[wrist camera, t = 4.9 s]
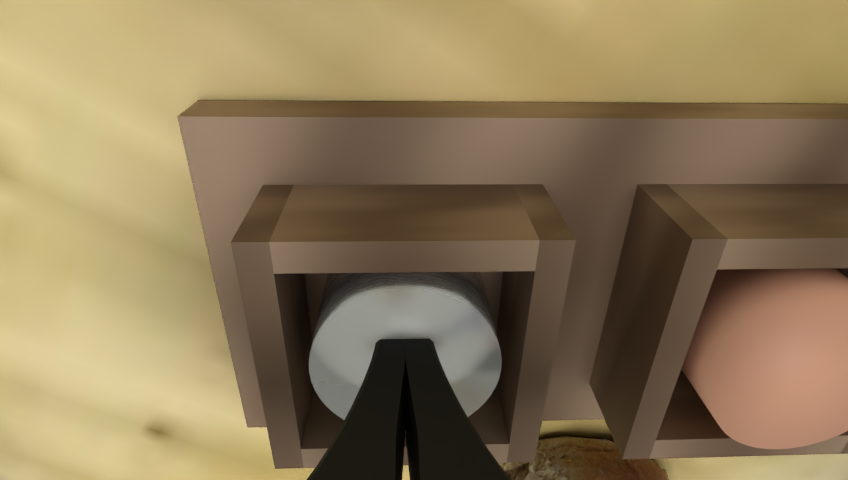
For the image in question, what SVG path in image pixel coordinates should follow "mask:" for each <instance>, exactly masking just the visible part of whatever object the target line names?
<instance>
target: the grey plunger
mask: <svg viewBox="0 0 848 480" xmlns="http://www.w3.org/2000/svg"><path fill="white" fill-rule="evenodd" d="M427 338H430V339H431V340H432V341H433V342H434V345H435V349H436V352H437V355H438V358H439V360H440V363H441V365H442V368H443V370H444V372H445V375H446V377H447V379H448V381H449V383H450V385H451V387H452V389H453V391H454V393H455V395H456V397H457V399H458V401H459V403H460V405H461V406H462V408H463V410H464V412H465V413H466V415H467V417H469V416H470V415H471V414H473V413H474V412H475V411H477V410H478V409H479V408H480V407H481V406H482V405H483V404H484V403H485V402H486V401H487V399H488V398H489V397H490V396H491V394H492V392H493V391H494V389H495V387H496V385H497V383H498V380H499V377H500V373H501V366H502V357H501V350H500V346H499V342H498V338H497V334H496V330H495V326H494V322H493V318H492V314H491V310H490V306H489V302H488V298H487V294H486V290H485V286H484V282H483V279H482V276H481V272H391V273H328V275H327V279H326V282H325V286H324V291H323V295H322V300H321V305H320V309H319V314H318V318H317V323H316V328H315V332H314V337H313V341H312V346H311V351H310V357H309V374H310V378H311V382H312V385H313V387H314V390H315V391H316V393H317V395H318V396H319V398H320V399H321V400H322V402H323V403H324V404H325V405H326V406H327V407H328V408H329V409H330V410H331V411H332V412H333V413H335V414H336V415H337V416H339V417H340V418H342V419H343V420H345V418H346V416H347V414H348V412H349V410H350V408H351V406H352V404H353V402H354V400H355V398H356V396H357V394H358V391H359V389H360V387H361V385H362V383H363V380H364V378H365V375H366V373H367V370H368V368H369V365H370V362H371V359H372V356H373V352H374V348H375V343H376V342H377V341H379V340H380V339H427Z"/></svg>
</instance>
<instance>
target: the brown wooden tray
mask: <svg viewBox="0 0 848 480" xmlns="http://www.w3.org/2000/svg"><path fill="white" fill-rule="evenodd" d="M178 121H179V125H180V130H181V134H182V139H183V143H184V148H185V152H186V156H187V161H188V165H189V170H190V174H191V179H192V183H193V188H194V192H195V196H196V201H197V205H198V210H199V214H200V219H201V223H202V228H203V232H204V236H205V241H206V245H207V250H208V254H209V259H210V263H211V268H212V272H213V276H214V281H215V285H216V290H217V294H218V299H219V303H220V308H221V312H222V317H223V321H224V325H225V330H226V334H227V339H228V343H229V348H230V352H231V357H232V361H233V365H234V370H235V374H236V379H237V383H238V388H239V392H240V397H241V401H242V405H243V410H244V414H245V419H246V423H247V427H267V430H268V435H269V440H270V445H271V450H272V455H273V460H274V465H275V469H280V468H316V466H317V465H318V463H319V462H320V460H321V459H322V457H323V455H324V454H325V452H326V451H327V449H328V448H329V446H330V444H331V443H332V441H333V439H334V438H335V436H336V434H337V433H338V431H339V429H340V427H341V425H342V423H343V421H344V420H343V419H342V418H340V417H339V416H337V415H336V414H335V413H333V412H332V411H331V410H330V409H329V408H328V407H327V406H326V405H325V404H324V403H323V402H322V400H321V399H320V398H319V396H318V395H317V393H316V391H315V390H314V387H313V385H312V382H311V378H310V374H309V357H310V351H311V346H312V341H313V337H314V332H315V328H316V323H317V318H318V314H319V309H320V305H321V300H322V295H323V291H324V286H325V282H326V279H327V275H328V273H391V272H481V276H482V279H483V282H484V286H485V290H486V294H487V298H488V302H489V306H490V310H491V314H492V318H493V322H494V326H495V330H496V334H497V338H498V342H499V346H500V350H501V357H502V366H501V373H500V377H499V380H498V383H497V385H496V387H495V389H494V391H493V392H492V394H491V396H490V397H489V398H488V399H487V401H486V402H485V403H484V404H483V405H482V406H481V407H480V408H479V409H478V410H477V411H475V412H474V413H473V414H471V415H470V416H469V417H468V418H469V420H470V422H471V423H472V425H473V427H474V428H475V430H476V432H477V433H478V435H479V436H480V438H481V439H482V441H483V442H484V444H485V445H486V447H487V448H488V450H489V451H490V452H491V454H492V455H493V457H494V458H495V459H496V461H497V462H498V463H506V462H534V459H535V454H536V449H537V443H538V438H539V433H540V428H541V422H542V421H548V420H591V419H605V421H606V423H607V426H608V428H609V430H610V432H611V435H612V437H613V439H614V442H615V444H616V446H617V449H618V451H619V453H620V455H621V458H622V459H656V458H694V457H732V456H769V455H807V454H845V453H848V431H847V432H844V433H842V434H840V435H838V436H835V437H833V438H830V439H828V440H825V441H822V442H818V443H815V444H811V445H807V446H802V447H796V448H790V449H762V448H755V447H751V446H747V445H744V444H742V443H739V442H737V441H735V440H733V439H732V438H730V437H729V436H728V435H727V434H725V433H724V431H723V430H722V429H721V428H720V426H719V425H718V423H717V422H716V420H715V419H714V417H713V416H712V414H711V413H710V411H709V410H708V408H707V407H706V405H705V404H704V402H703V401H702V399H701V398H700V396H699V395H698V393H697V392H696V390H695V389H694V387H693V386H692V384H691V383H690V381H689V380H688V378H687V377H686V375H685V374H684V372H683V371H682V369H681V368H682V366H683V363H684V360H685V357H686V354H687V352H688V349H689V346H690V343H691V340H692V338H693V335H694V332H695V329H696V327H697V324H698V321H699V318H700V315H701V313H702V310H703V307H704V304H705V301H706V299H707V296H708V293H709V290H710V288H711V285H712V282H713V279H714V276H715V274H716V271H717V269H814V268H835V269H837V270H838V271H839V272H841V273H842V274H843V275H845V276H846V277H847V278H848V104H760V103H584V102H407V101H231V100H198V101H197V102H196V103H194V104H193V105H192V106H190V107H189V108H188V109H187V110H185V111H184V112H183V113H181V114H180V115H179V116H178ZM403 465H408V455H407V446H406V437H405V447H404V459H403Z"/></svg>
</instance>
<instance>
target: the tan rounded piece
mask: <svg viewBox="0 0 848 480" xmlns="http://www.w3.org/2000/svg"><path fill="white" fill-rule="evenodd" d="M681 369H682V371H683V372H684V374H685V375H686V377H687V378H688V380H689V381H690V383H691V384H692V386H693V387H694V389H695V390H696V392H697V393H698V395H699V396H700V398H701V399H702V401H703V402H704V404H705V405H706V407H707V408H708V410H709V411H710V413H711V414H712V416H713V417H714V419H715V420H716V422H717V423H718V425H719V426H720V428H721V429H722V430H723V431H724V433H725V434H727V435H728V436H729V437H730V438H732V439H733V440H735V441H737V442H739V443H742V444H744V445H747V446H751V447H755V448H762V449H790V448H796V447H802V446H807V445H811V444H815V443H818V442H822V441H825V440H828V439H830V438H833V437H835V436H838V435H840V434H842V433H844V432H847V431H848V278H847V277H846V276H845V275H843V274H842V273H841V272H839V271H838V270H837V269H835V268H814V269H717V271H716V274H715V276H714V279H713V282H712V285H711V288H710V290H709V293H708V296H707V299H706V301H705V304H704V307H703V310H702V313H701V315H700V318H699V321H698V324H697V327H696V329H695V332H694V335H693V338H692V340H691V343H690V346H689V349H688V352H687V354H686V357H685V360H684V363H683V366H682V368H681Z"/></svg>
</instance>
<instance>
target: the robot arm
mask: <svg viewBox="0 0 848 480" xmlns="http://www.w3.org/2000/svg"><path fill="white" fill-rule="evenodd" d="M405 437H406V446H407V455H408V465H409V474H410V480H511V479H510V478H509V476H508V475H507V474H506V473H505V471H504V470H503V469H502V467H501V466H500V465H499V463H498V462H497V461H496V459H495V458H494V457H493V455H492V454H491V452H490V451H489V450H488V448H487V447H486V445H485V444H484V442H483V441H482V439H481V438H480V436H479V435H478V433H477V432H476V430H475V428H474V427H473V425H472V423H471V422H470V420H469V418H468V417H467V415H466V413H465V412H464V410H463V408H462V406H461V405H460V403H459V401H458V399H457V397H456V395H455V393H454V391H453V389H452V387H451V385H450V383H449V381H448V379H447V377H446V375H445V372H444V370H443V368H442V365H441V363H440V360H439V358H438V355H437V352H436V349H435V345H434V342H433V341H432V340H431V339H430V338H427V339H380V340H379V341H377V342H376V343H375V348H374V352H373V356H372V359H371V362H370V365H369V368H368V370H367V373H366V375H365V378H364V380H363V383H362V385H361V387H360V389H359V391H358V394H357V396H356V398H355V400H354V402H353V404H352V406H351V408H350V410H349V412H348V414H347V416H346V418H345V420H344V421H343V423H342V425H341V427H340V429H339V431H338V433H337V434H336V436H335V438H334V439H333V441H332V443H331V444H330V446H329V448H328V449H327V451H326V452H325V454H324V455H323V457H322V459H321V460H320V462H319V463H318V465H317V466H316V468H315V469H314V470H313V472H312V473H311V475H310V476H309V477H308V479H307V480H402V471H403V459H404V447H405Z"/></svg>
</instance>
